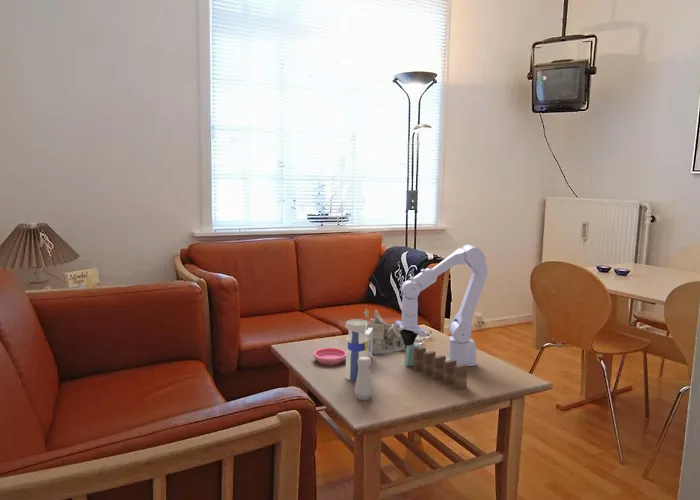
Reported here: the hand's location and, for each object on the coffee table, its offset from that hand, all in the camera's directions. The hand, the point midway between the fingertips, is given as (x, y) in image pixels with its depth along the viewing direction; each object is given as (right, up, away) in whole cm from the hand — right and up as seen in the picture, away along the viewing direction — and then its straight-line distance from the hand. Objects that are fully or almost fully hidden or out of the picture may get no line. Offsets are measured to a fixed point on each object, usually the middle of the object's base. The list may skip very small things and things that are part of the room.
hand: (408, 349), depth 196 cm
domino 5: (+12, -8, -16) cm, 22 cm away
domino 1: (+1, -5, 0) cm, 5 cm away
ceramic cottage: (-8, -3, +18) cm, 20 cm away
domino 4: (+9, -7, -12) cm, 17 cm away
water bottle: (-19, -7, -12) cm, 24 cm away
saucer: (-29, -5, +4) cm, 30 cm away
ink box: (-16, -5, +4) cm, 17 cm away
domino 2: (+3, -6, -4) cm, 8 cm away
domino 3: (+6, -7, -8) cm, 12 cm away
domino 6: (+15, -9, -20) cm, 27 cm away
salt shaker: (-17, -10, -29) cm, 35 cm away
